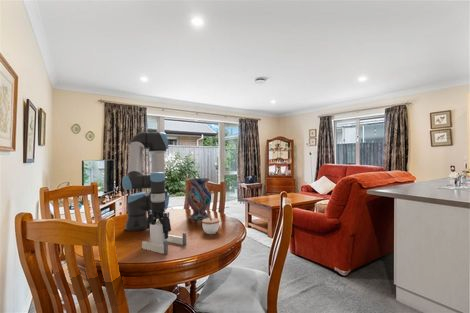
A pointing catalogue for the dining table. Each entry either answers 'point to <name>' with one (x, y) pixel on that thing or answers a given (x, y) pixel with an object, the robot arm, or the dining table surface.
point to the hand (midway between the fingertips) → (158, 243)
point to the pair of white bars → (164, 248)
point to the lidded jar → (210, 225)
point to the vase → (199, 198)
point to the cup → (156, 233)
